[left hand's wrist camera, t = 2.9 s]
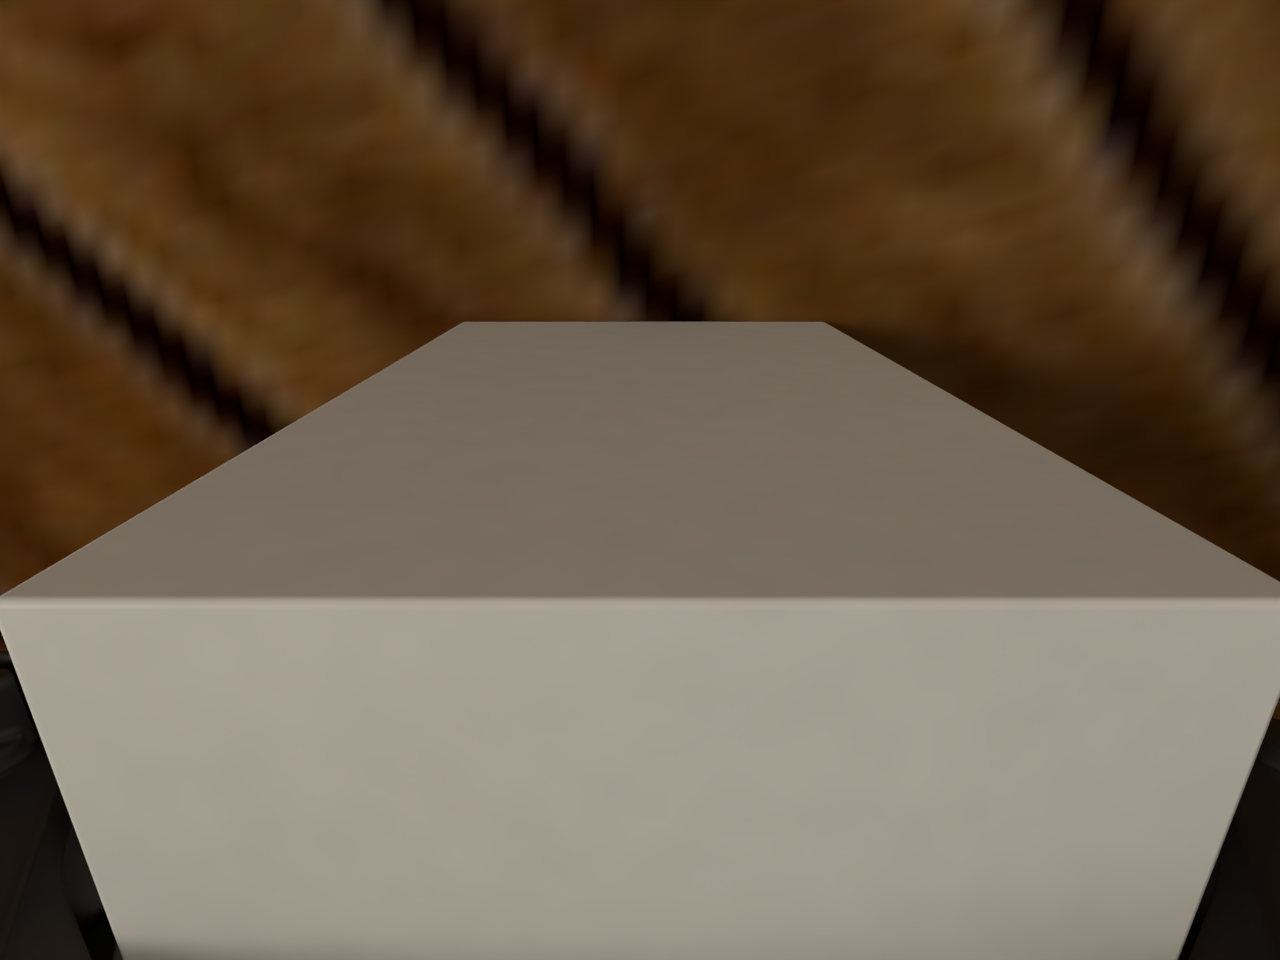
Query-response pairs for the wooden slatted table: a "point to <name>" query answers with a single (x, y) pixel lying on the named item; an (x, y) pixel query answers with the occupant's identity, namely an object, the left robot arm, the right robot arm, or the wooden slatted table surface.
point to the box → (649, 672)
